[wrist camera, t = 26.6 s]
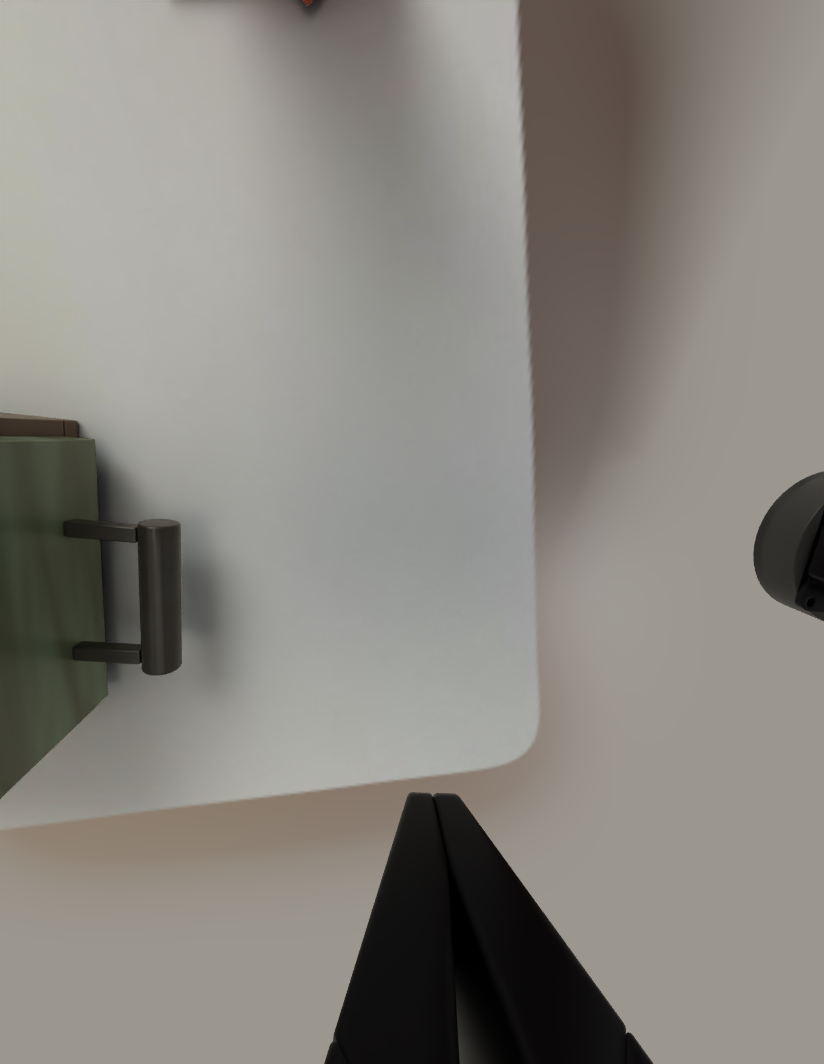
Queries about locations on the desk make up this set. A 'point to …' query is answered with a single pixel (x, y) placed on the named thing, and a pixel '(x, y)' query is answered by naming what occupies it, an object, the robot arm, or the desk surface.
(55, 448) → the drawer
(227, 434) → the desk surface
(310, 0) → the red and grey block
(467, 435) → the desk surface
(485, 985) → the robot arm
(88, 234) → the desk surface
